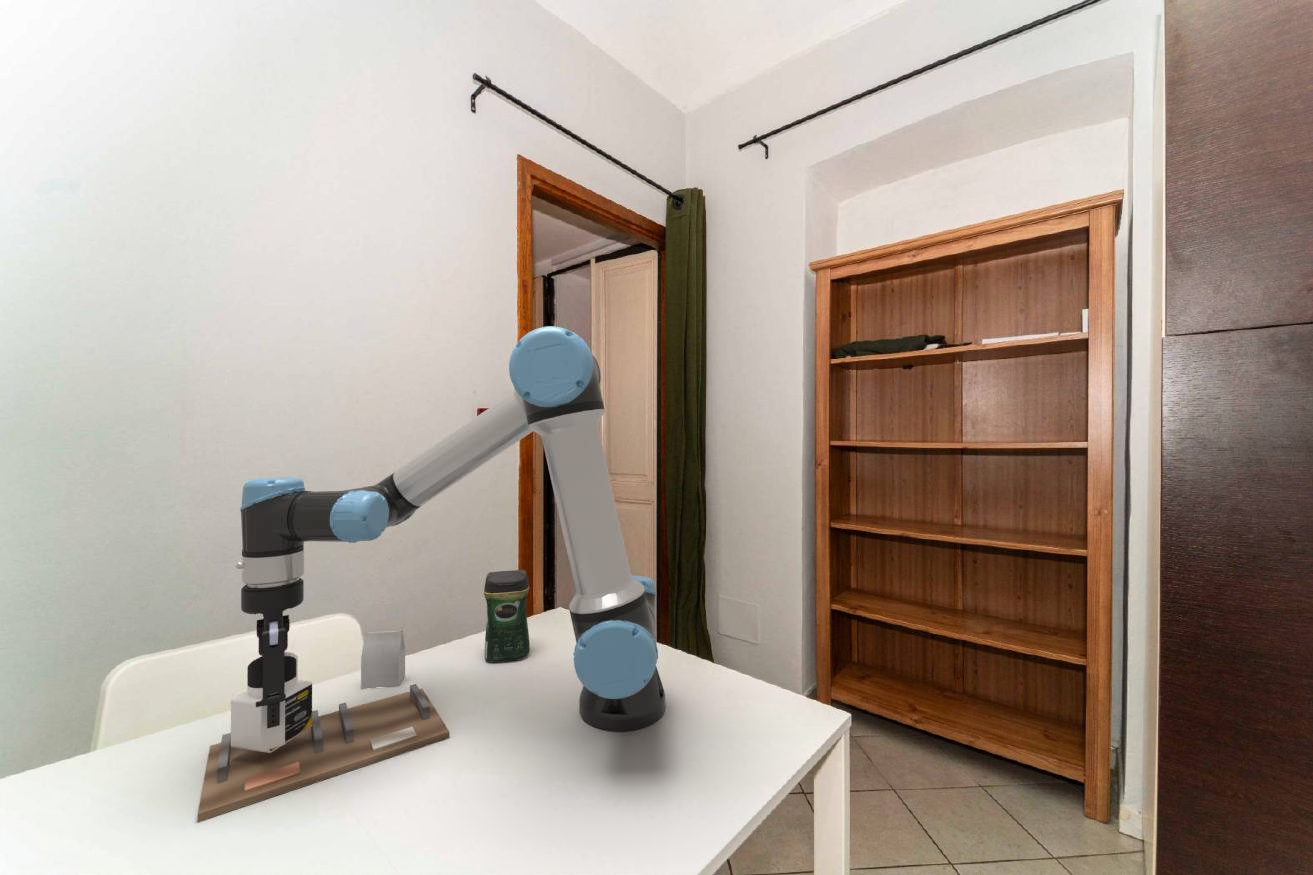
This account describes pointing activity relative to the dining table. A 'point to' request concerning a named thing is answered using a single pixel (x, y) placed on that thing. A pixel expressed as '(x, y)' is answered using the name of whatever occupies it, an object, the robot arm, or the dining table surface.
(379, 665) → the grey boxy piece
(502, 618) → the coffee jar
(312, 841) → the dining table surface
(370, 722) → the stand
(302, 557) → the robot arm
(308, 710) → the medicine bottle
